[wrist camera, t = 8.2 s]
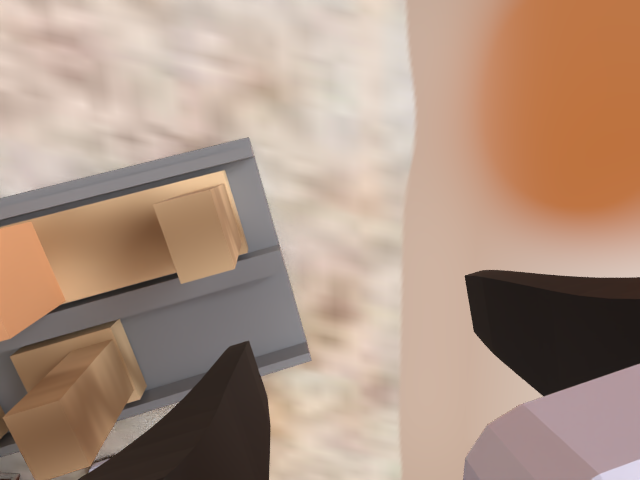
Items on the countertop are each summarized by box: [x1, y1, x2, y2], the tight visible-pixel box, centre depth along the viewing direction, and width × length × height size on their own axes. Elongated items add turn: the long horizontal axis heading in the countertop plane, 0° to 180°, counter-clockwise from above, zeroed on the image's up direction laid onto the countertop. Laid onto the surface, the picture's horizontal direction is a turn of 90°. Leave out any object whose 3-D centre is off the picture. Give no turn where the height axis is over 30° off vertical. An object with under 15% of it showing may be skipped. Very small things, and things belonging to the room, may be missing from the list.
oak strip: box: [0, 170, 248, 304], centre depth 16 cm, size 4×12×6 cm, turn 104°
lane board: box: [0, 137, 312, 457], centre depth 19 cm, size 12×22×2 cm, turn 104°
